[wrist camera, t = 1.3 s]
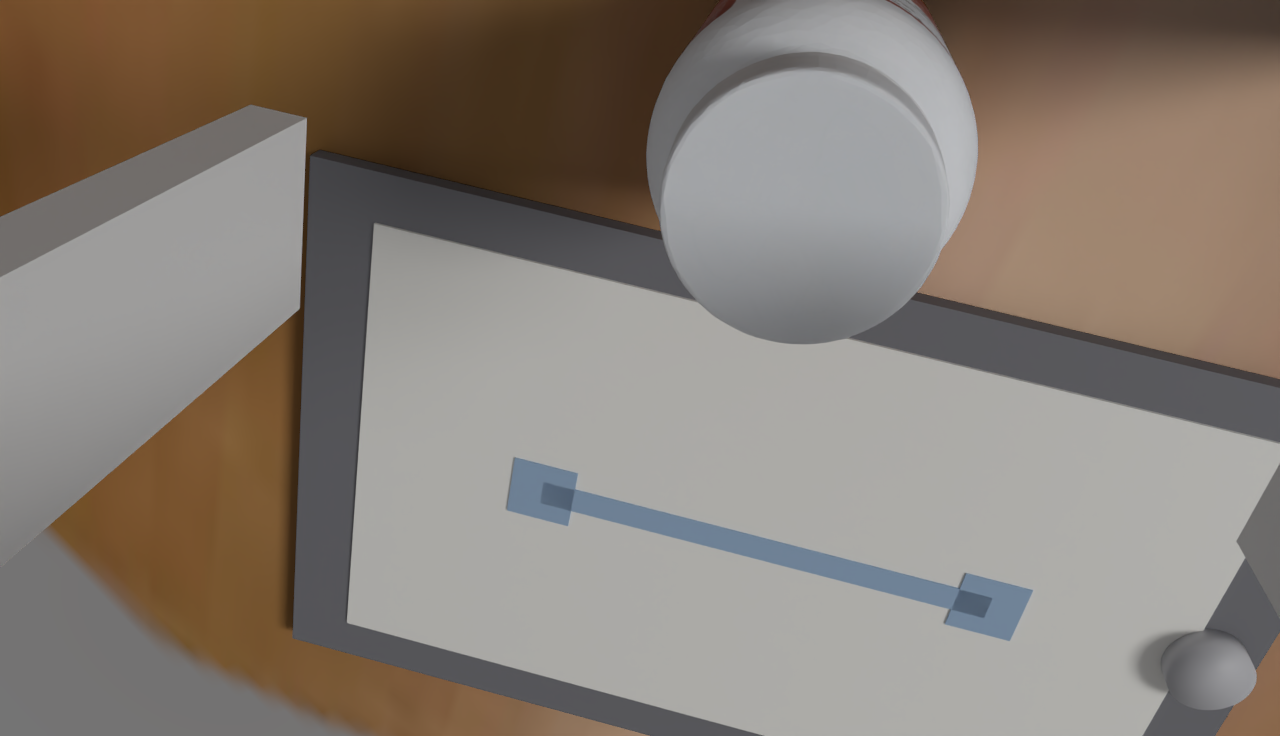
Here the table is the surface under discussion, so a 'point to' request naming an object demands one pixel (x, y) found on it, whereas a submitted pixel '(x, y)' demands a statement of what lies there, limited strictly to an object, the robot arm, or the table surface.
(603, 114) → the table surface
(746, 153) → the pill bottle
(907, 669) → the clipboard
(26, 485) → the robot arm
